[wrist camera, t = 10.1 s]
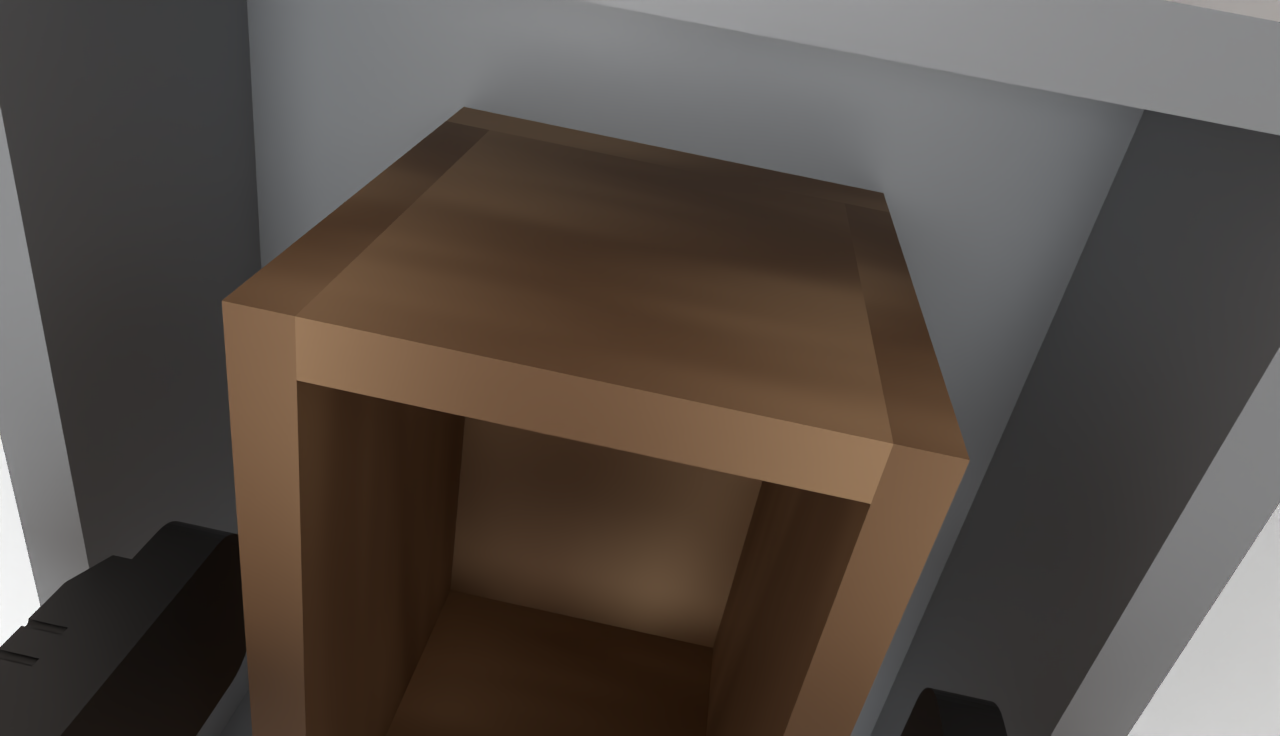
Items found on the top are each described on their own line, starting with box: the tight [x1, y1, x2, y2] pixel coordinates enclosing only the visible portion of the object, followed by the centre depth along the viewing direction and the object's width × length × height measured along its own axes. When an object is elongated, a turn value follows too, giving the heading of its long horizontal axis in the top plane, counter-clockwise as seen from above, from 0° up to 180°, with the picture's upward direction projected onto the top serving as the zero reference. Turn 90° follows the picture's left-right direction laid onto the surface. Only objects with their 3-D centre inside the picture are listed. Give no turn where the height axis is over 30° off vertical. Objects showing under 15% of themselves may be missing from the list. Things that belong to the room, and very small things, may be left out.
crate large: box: [0, 0, 1280, 736], centre depth 13 cm, size 14×16×6 cm
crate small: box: [222, 107, 970, 736], centre depth 12 cm, size 6×9×6 cm, turn 171°
